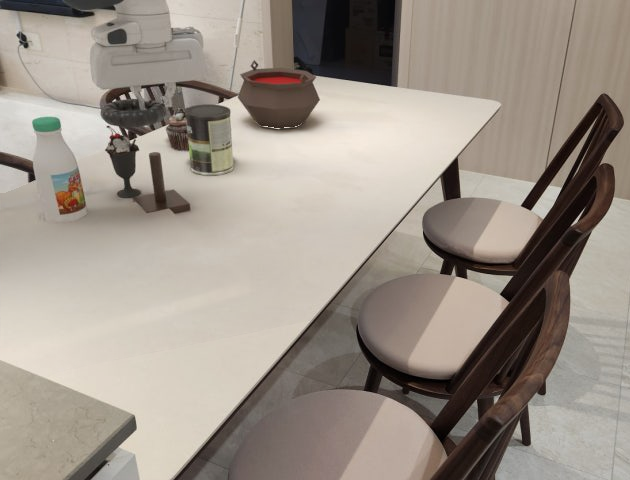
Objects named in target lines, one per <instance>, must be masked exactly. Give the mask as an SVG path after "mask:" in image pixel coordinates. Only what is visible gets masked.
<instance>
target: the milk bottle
mask: <svg viewBox="0 0 630 480" xmlns="http://www.w3.org/2000/svg"><path fill="white" fill-rule="evenodd" d="M31 124H32V128H33V132H34V133H35V135H36V143H35V148H34V152H33V157H32V166H33V167H32V168H33V172H34V179H35V182H36V183H35V184H36V187H37V192H38V196H39V201H40V204H41V209H42V213H43V217H44V220H46V221H48V222H52V223H69V222H74V221H77V220H80V219H82V218H84V217H85V216H86V215H87V214H88V208H87V202H86V198H85V193H84V188H83V187H84V186H83V182H82V177H81V173H80V170H79V165H78V161H77V158H76V156H75V153H74V152H73V151H72V149H71V148H70V147H69V145H68V144H67V142H66V140H65V139H64V137H63V135H62V131H63V129H62V123H61V120H60V118H58V117H56V116H41V117H37V118H34V119H32V122H31Z"/></svg>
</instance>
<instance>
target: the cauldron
mask: <svg viewBox="0 0 630 480" xmlns="http://www.w3.org/2000/svg"><path fill="white" fill-rule="evenodd" d="M254 65H255V66H254ZM258 66H259V63H258V62H257V61H256V60H255V59H253V60H252V63H251V64H250V67H251V69H250V70H248V71H245V72H242V73H240V74H239V75H240V77H241V78H242V79H243V82H242V84H241V87H240V90H239V91H238V95H237V99H238V101H240V103H241V104H242V106H243V107H244V108H245V110H246V111H247V112H248V114H249V116H251V118H252V119H253V121H254V120H255V121H256V122H257V123H258V124H259V125H261V126H268V127H274V128H284V127H295V126H298V125H300V124H301V123H303V122H304V123H305V122H306V121H307V120H308V118H309V116H310V115H311V114H312V112H313V110H315V108H316V107H317V105H318V104H319V102H320V100H321V99H320V96H319V94H318V91H317V89H316V87H315V84H314V82H315V79H316V78H317V76H316V75H314V74H312V73H310V72H309V71H307V70H302V69H295V68H286V67H269V68H268V67H267V68H258ZM255 121H254V122H255ZM256 122H255V123H256ZM257 123H256V124H257ZM304 123H303V124H304ZM258 124H257V125H258ZM259 125H258V126H259ZM261 126H260V127H261ZM300 126H301V125H300ZM298 127H299V126H298Z"/></svg>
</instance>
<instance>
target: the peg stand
mask: <svg viewBox="0 0 630 480" xmlns="http://www.w3.org/2000/svg"><path fill="white" fill-rule="evenodd" d="M161 156H162V155H161V152H158V151H154V152H153V151H152V152H149V153H148V159H149V165H150V172H151V173H150V174H151V180H152V187H153V192H152V193H147V194H143V195H138V196H135V197H131V199H132V203H136V204H137V205H138V206H139V207H140V208H141V209H142V210H143V211H144V212H145V213H146V214H148V213H153V212H159V211H164V210H170V211H171V212H172V213H173V214H179V213H184V212H188V211H191V204H190V202H189V201H188V200H186V199H185V198H184V197H183V196H182V195H181V194H180V193H179V192H177V190H175V189H169V190H166V186H165V179H164V171H163V164H162V157H161Z"/></svg>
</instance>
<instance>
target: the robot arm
mask: <svg viewBox="0 0 630 480" xmlns="http://www.w3.org/2000/svg"><path fill="white" fill-rule="evenodd" d="M61 1H62V2H63V3H64V4H65V5H67V6H69V8H70V7H71V8H73V9H75V10H77V11H82V12H93V11H98V10H99V9H103V8H109V7H114V8H115V14H116V15H115V16H116V17H115V18H113V19H111V20H109V21H106V22H104V23H101V24H98V25H96V26H93V27H92V28H91V29H90V35H91V38H92V40H93V41H94V43H93V44H92V45H91V47H90V51H89V65H90V75H91V81H92V83H93V84H94V85H95V86H96V87H97V88H99V89H100V90H103V91H105V90H115V89H125V88H129V89H130V92H132V94H133V96H134V97H135V99H138V101H139V107H140V109H141V110H145V109H148V108H150V106H149V104H150V103H149V100H150V99H148V98H146V97H143V95H141V94H140V93H142V91H143V90H142V87H143V86H151V85H152V86H153V85H161V84H162V85H163V84H164V87H166V91H165V94H164V95H162V96H160V101H161V102H160V103H161V104H162V105H163V106H164V107H165V108H166V109H167V108H172V107H173V101H172V98H173V96H174V94H175V92H176V89H177V83H180V82H189V81H191V82H192V81H198V80H199V81H200V80H205V78H206V76H207V74H208V71H207V63H206V58H205V55H204V51H203V49H204V37H203V34H202V33H201V31H200V30H199V29H196V28H195V27H193V26H187V27H172V23H171V15H170V9H169V5H168V3H167V0H61ZM147 99H148V100H147Z"/></svg>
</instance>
